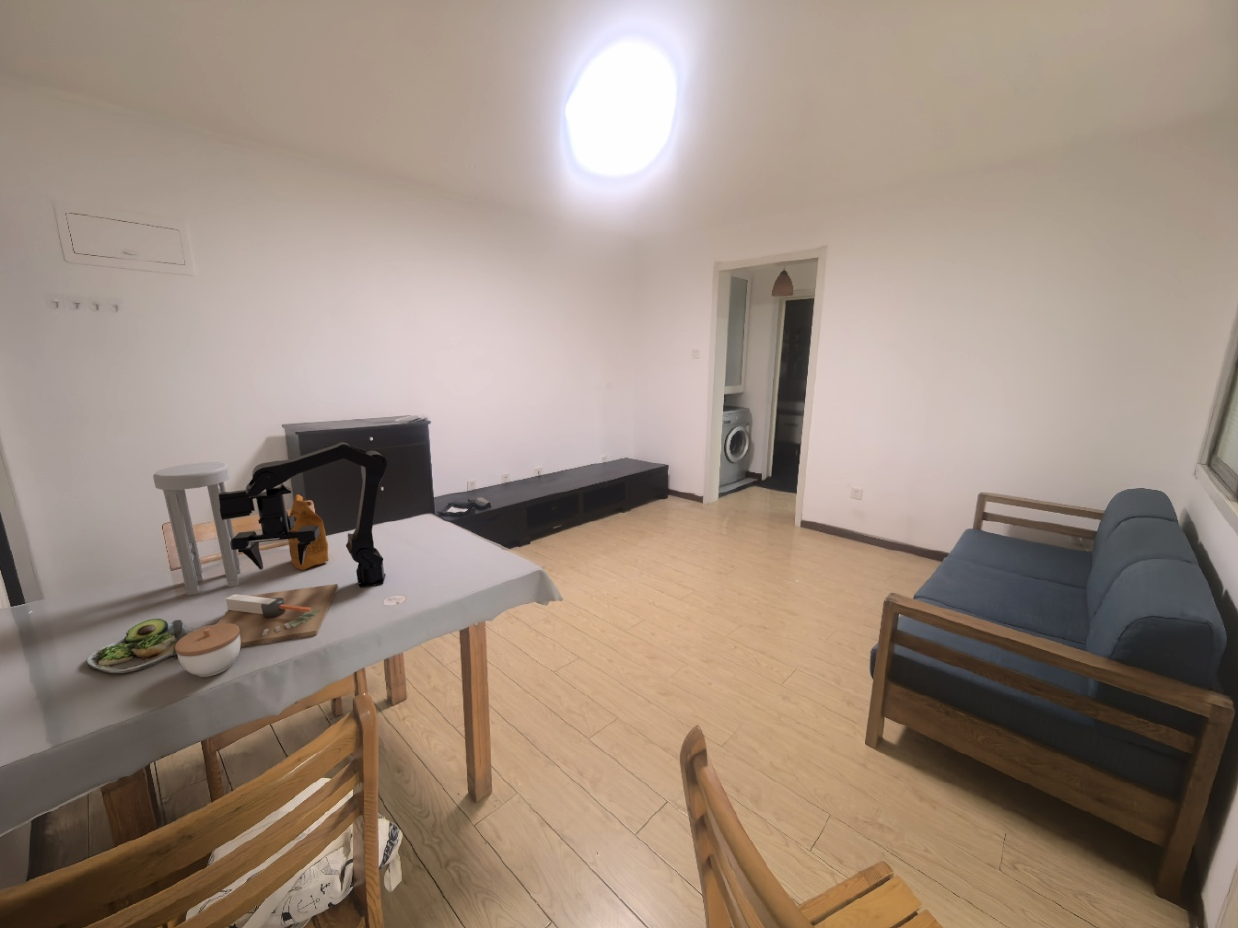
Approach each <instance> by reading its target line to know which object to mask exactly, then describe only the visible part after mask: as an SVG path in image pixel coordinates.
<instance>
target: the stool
mask: <svg viewBox="0 0 1238 928" xmlns="http://www.w3.org/2000/svg"><path fill="white" fill-rule="evenodd" d="M152 477H153V483H154V486H155V488H156V489H157V490H162V492H163V495H164V500H165V503H166V508H167V512H168V517H169V522H170V526H171V530H172V534H173V539H174V543H175V547H176V553H177V556H178V560H179V565H180V569H181V570H180V571H181V573H182V579H183V582H184V587H185V592H186V595H188V596H193V595H197V594H199V592H200V587H199V584H198V582H202V581H204V579H205V577H204V576H205V575H204V572H203V571H204V570H203V566H202V563H201V557H200V554H199V549H198V544H197V540H196V535H195V531H194V526H193V521H192V517H191V513H190V507H189V502H188V497H187V495H186V494H187V493H186V490H190V489H198V488H199V489H200V488H204V487H207V492H208V497H209V501H210V502H209V503H210V506H211V511H212V516H213V521H214V526H215V530H216V535H217V541H218V544H219V550H220V554H221V555H220V556H221V560H222V565H223V568H224V573H225V574H224V575H225V578H226V580H225V581H226V584H227V588H231V587H234V586H235V587H236V586H238V585H239V577H238V575H239V574H241V572H242V567H241V562H240V557H239V552H238V550H231V545H230V542H231V540H232V539H233V538H234V537H235V536H236V535H235V531H234V527H233V522H232V519H226V520H222V518H221V514H220V502H219V493H220V492H227V490H226V487H225V482H226V481H228V480H229V479H230V477H231V475H230V470H229V465H228V464H227V463H222V462H198V463H186V464H180V465H175V466H174V465H173V466H170V467H169V466H168V467H165V468H162V469H159V470H157V471H156V472H155V473H154V474H153V475H152Z"/></svg>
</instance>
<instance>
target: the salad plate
mask: <svg viewBox="0 0 1238 928" xmlns="http://www.w3.org/2000/svg"><path fill="white" fill-rule="evenodd" d="M183 624H184V623H183V621H182V619H175V620H173V621H172V622H171V623H168V622H167V621H166V620H164V619H163V618H151V619H147V620H144V621H142V622H139V623H137V624H135V625H133V626H132V627H130V628H129V629H128V630H127V632H125V637H124V638H122V639H120V640H116V641H115V642H112V643H110V644H107V645H104V646H102V647H101V648H97V649H96V650H95V651H93V652H92V653H90V654H89V656H88V657H86V660H85V661H86V664H87V666H88V667H89V668H90V669H91V670H92V669H93V670H98V671H101V672H103V673H111V674H127V673H132V672H136V671H141V670H143V669H147V668H149V667H152V666H154V665H157V664H158V663H160V662H162V661H165V660H166V659H168V658H171V657H173V656H178V655H177V653H176V651H175V645H176V643H177V642H178V641H179V640H180V639H181V638H183V637H184V636H186V635H187V634H189V633H191V632H193V631H194V630H193V629H190V628H187V627H183ZM137 659H142V660H146V661H144V662H143V663H141V664H137V665H133V666H128V667H112V666H116V665H118V664H123V663H126V662H128V661H133V660H137Z"/></svg>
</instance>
